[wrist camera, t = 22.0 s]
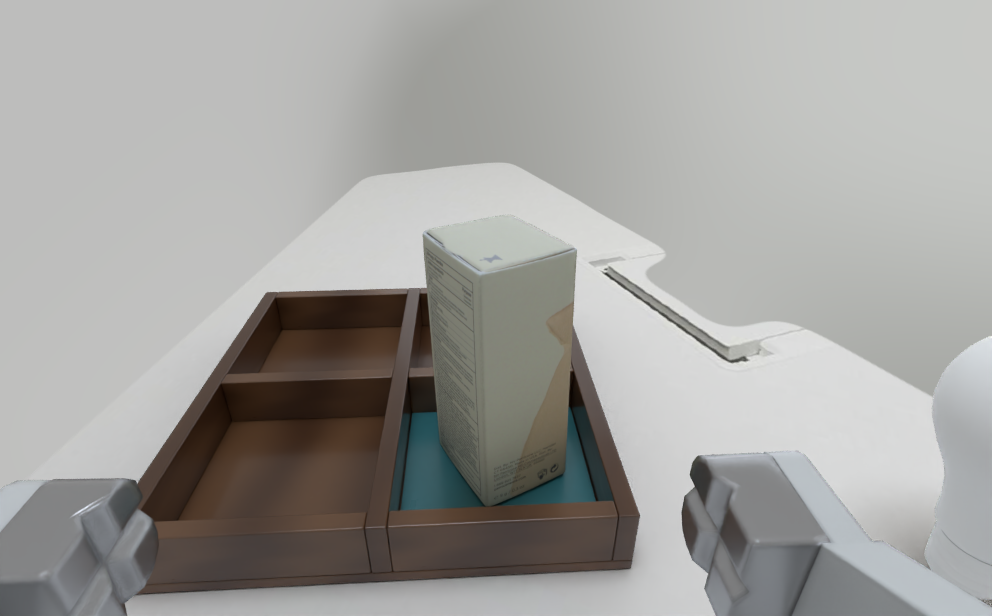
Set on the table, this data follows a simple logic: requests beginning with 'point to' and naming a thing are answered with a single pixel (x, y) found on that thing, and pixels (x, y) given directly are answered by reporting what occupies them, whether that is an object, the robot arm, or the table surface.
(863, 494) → the table surface
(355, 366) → the grid
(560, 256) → the box
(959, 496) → the lightbulb
